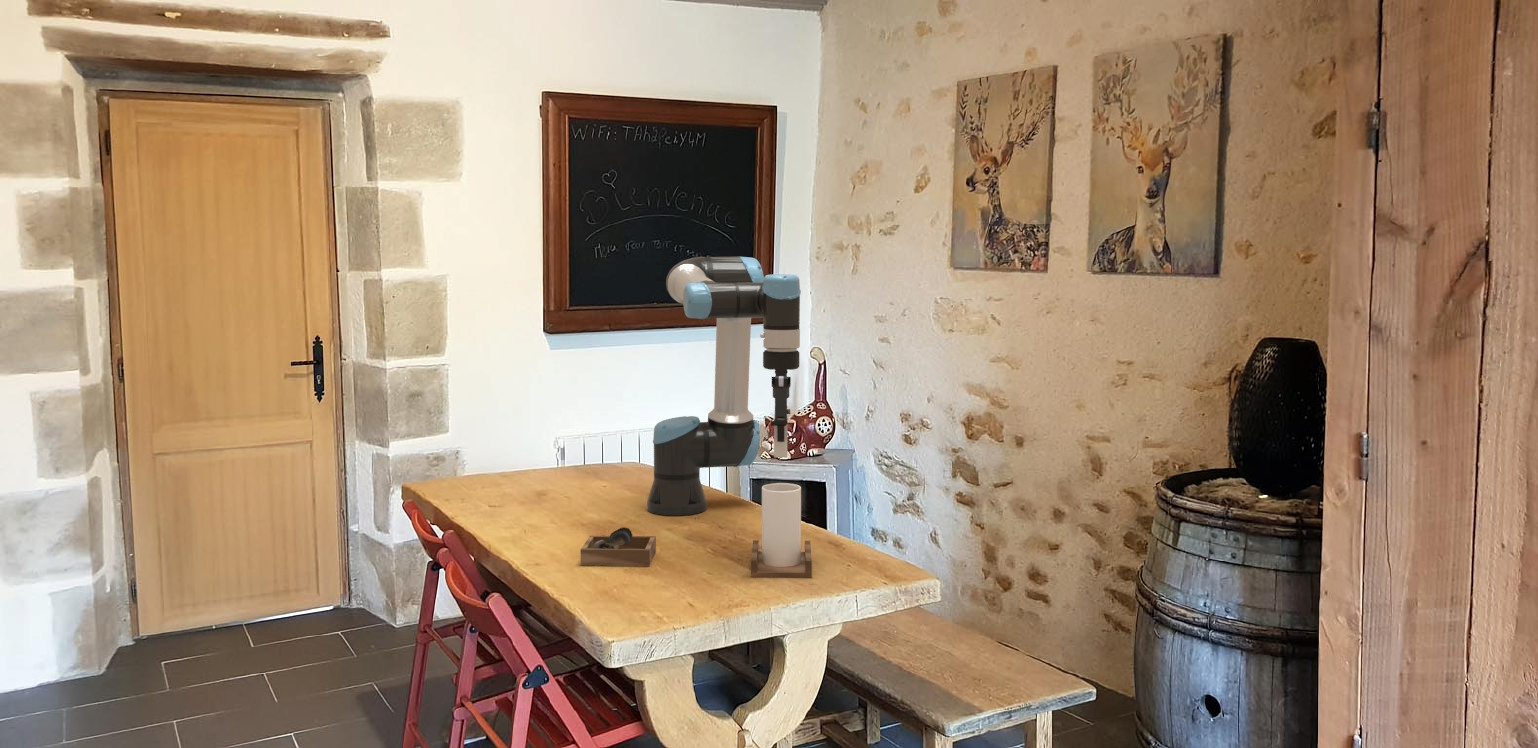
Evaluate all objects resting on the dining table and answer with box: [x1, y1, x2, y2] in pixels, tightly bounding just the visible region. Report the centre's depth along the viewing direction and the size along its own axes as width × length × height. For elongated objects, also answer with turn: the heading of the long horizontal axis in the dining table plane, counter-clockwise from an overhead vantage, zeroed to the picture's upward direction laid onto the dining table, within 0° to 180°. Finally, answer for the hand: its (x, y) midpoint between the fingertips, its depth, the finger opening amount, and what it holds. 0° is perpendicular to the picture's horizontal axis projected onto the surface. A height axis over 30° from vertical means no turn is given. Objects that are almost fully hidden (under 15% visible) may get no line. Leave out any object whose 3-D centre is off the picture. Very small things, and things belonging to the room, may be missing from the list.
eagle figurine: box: [594, 526, 634, 549], centre depth 245 cm, size 8×7×9 cm
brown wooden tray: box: [750, 539, 813, 579], centre depth 240 cm, size 16×12×4 cm
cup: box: [761, 482, 802, 567], centre depth 239 cm, size 8×8×16 cm
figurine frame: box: [580, 535, 657, 567], centre depth 246 cm, size 12×14×4 cm
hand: (780, 451), depth 238 cm, fingers open, 13 cm apart
